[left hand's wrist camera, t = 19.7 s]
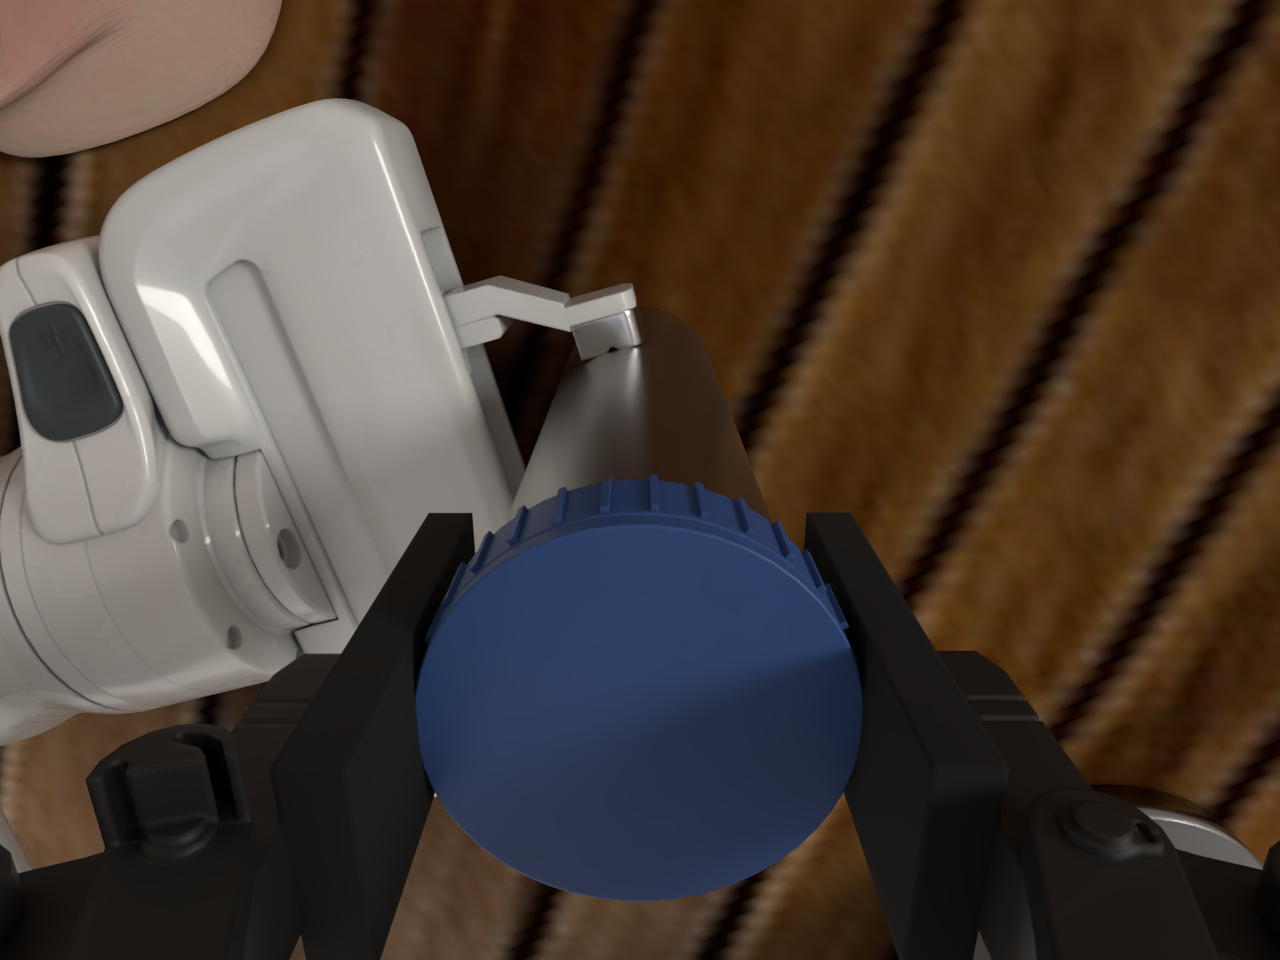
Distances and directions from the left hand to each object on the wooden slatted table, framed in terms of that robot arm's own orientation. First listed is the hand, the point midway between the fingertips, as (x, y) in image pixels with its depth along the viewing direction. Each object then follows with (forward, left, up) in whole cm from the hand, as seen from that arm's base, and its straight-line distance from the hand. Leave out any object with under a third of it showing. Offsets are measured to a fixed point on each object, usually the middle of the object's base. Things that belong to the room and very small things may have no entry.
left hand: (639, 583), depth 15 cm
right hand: (0, -1, -9) cm, 9 cm away
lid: (0, 0, +4) cm, 4 cm away
